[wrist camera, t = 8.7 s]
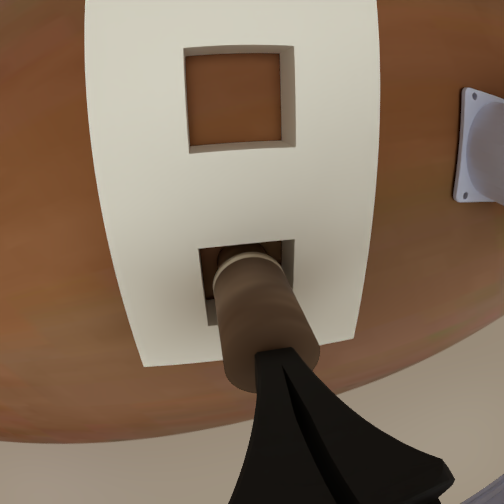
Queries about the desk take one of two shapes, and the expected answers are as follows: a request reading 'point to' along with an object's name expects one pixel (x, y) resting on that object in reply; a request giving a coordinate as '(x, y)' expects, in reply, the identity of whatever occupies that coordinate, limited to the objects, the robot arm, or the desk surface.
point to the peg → (257, 313)
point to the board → (233, 160)
